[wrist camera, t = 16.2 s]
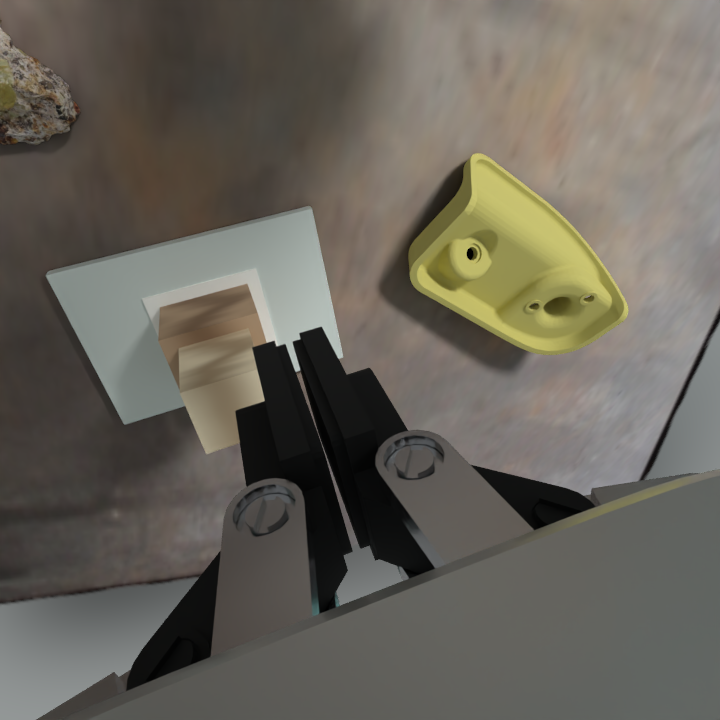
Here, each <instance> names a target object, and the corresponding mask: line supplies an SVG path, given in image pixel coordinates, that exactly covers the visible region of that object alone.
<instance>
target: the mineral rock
mask: <svg viewBox="0 0 720 720" xmlns="http://www.w3.org/2000/svg"><path fill="white" fill-rule="evenodd" d="M0 27H1V20H0ZM80 113H81V112H80V109H79V107H78V105H77V104H76V102H74V101H73V99H72V97H71V95H70V88H69V85H68V84H67V83H66V82H65V81H64V80H63V79H62V78H61V77H60V76H58V75H57V74H55V73H54V72H53V70H51V69H49V68H48V67H46V66H45V65H42V64H41V63H40V62H39V61H38V60H37V59H35V58H33V57H31V56H28V55H26V54H25V53H24V52H22V51H21V50H20V49H17V48H16V47H14V45H13V41H12V40H11V39H10V35H8V34H6V33H5V32H3V30H2V29H1V28H0V144H3V145H5V144H6V145H8V144H16V143H17V142H26V143H28V144H30V145H33V146H34V145H37V144H40V143H42V142H43V141H48V140H49V138H50V137H51V135H53V134H55V133H60V134H62V133H64V132H68V131H69V130H70V126H69V125H70V124H71V123H72V122H74V121H76V117H75V115H79V114H80Z"/></svg>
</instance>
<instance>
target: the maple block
mask: <svg viewBox="0 0 720 720" xmlns="http://www.w3.org/2000/svg"><path fill="white" fill-rule="evenodd" d="M252 347H254V344H253V341H252V338H251V334H250V331H249V328H247V329H244V330H240V331H237V332H233V333H230V334H226V335H223V336H220V337H216V338H213V339H209V340H206V341H202V342H199V343H195V344H192V345H189V346H185V347H182V348H179V383H180V395H181V397H182V400H183V402H184V404H185V406H186V409H187V411H188V413H189V416H190V418H191V420H192V422H193V425H194V427H195V429H196V432H197V434H198V436H199V439H200V441H201V443H202V445H203V448H204V450H205V452H206V454H208V453H211V452H214V451H217V450H220V449H223V448H226V447H229V446H232V445H235V444H238V443H240V440H239V434H238V427H237V421H236V413H235V411H236V410H238V409H241V408H244V407H248V406H251V405H254V404H257V403H260V402H263V401H265V399H264V395H263V391H262V387H261V383H260V379H259V374H258V370H257V366H256V362H255V358H254V354H253V350H252Z"/></svg>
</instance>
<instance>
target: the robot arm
mask: <svg viewBox="0 0 720 720" xmlns="http://www.w3.org/2000/svg"><path fill="white" fill-rule="evenodd" d="M299 335H300V339H299V340H296V341H292V342H293V346H294V350H295V353H296V357H297V360H298V364H299V367H300V370H301V374H302V377H303V381H304V384H305V388H306V391H307V395H308V398H309V402H310V405H311V409H312V412H313V416H314V419H315V422H316V426H317V429H318V433H319V436H320V439H321V442H322V444H323V447H324V450H325V453H326V455H327V458H328V461H329V464H330V466H331V469H332V472H333V475H334V477H335V480H336V483H337V486H338V488H339V491H340V494H341V497H342V500H343V502H344V505H345V508H346V511H347V513H348V516H349V519H350V522H351V524H352V527H353V530H354V533H355V535H356V538H357V541H358V544H359V546H360V548H364V547H366V546H369V545H370V548H371V550H372V553H373V556H374V558H375V560H378V559H380V560H383V561H386V562H389V563H391V564H394V565H397V567H398V570H399V573H400V575H401V578H402V579H403V581H402V582H400V583H397V584H395V585H392V586H389V587H387V588H384V589H382V590H379V591H377V592H374V593H372V594H369V595H367V596H364V597H361V598H359V599H356V600H354V601H351V602H349V603H346V604H343V605H341V606H340V605H339V600H338V596H337V593H336V590H337V589H338V587H339V585H340V583H341V582H342V580H343V578H344V576H345V574H346V573H347V571H348V570H347V566H346V563H345V560H344V556H343V555H345V554H348V553H350V552H352V547H351V544H350V540H349V537H348V534H347V530H346V527H345V523H344V520H343V516H342V513H341V509H340V506H339V502H338V499H337V495H336V492H335V488H334V485H333V482H332V478H331V475H330V471H329V468H328V464H327V461H326V457H325V454H324V451H323V448H322V445H321V442H320V439H319V436H318V433H317V430H316V428H315V425H314V422H313V419H312V416H311V414H310V411H309V408H308V405H307V403H306V400H305V397H304V394H303V391H302V389H301V386H300V383H299V380H298V378H297V375H296V372H295V369H294V366H293V364H292V361H291V358H290V355H289V353H288V350H287V347H286V344H283V345H279V346H276V343H275V341H271V342H268V343H265V344H261V345H258V346H255V347H252V350H253V354H254V358H255V362H256V366H257V370H258V374H259V379H260V383H261V387H262V391H263V395H264V399H265V401H263V402H260V403H257V404H254V405H251V406H248V407H244V408H241V409H238V410H236V411H235V413H236V421H237V427H238V434H239V440H240V447H241V453H242V460H243V466H244V473H245V479H246V486H247V487H246V488H245V489H243V490H241V491H240V492H239V493H238V494H237V495H236V496H235V497H234V498H233V499H232V501H231V502H230V504H229V506H228V507H227V509H226V513H225V516H224V522H223V533H222V543H221V551H220V552H219V553H218V555H217V556H216V557H215V558H214V560H213V561H212V562H211V563H210V565H209V566H208V567H207V568H206V570H205V571H204V572H203V574H202V575H201V576H200V577H199V579H198V580H197V581H196V582H195V584H194V585H193V586H192V587H191V589H190V590H189V591H188V592H187V594H186V595H185V596H184V597H183V599H182V600H181V601H180V602H179V604H178V605H177V607H176V608H175V609H174V610H173V611H172V613H171V614H170V615H169V616H168V618H167V619H166V620H165V621H164V623H163V624H162V625H161V627H160V628H159V629H158V630H157V631H156V633H155V634H154V635H153V636H152V638H151V639H150V640H149V642H148V643H147V644H146V645H145V647H144V648H143V649H142V651H141V652H140V654H139V655H138V657H137V658H136V660H135V662H134V664H133V665H132V668H131V670H130V671H128V672H126V673H125V674H123V675H122V676H120V677H118V676H117V675H116V674H115V672H113V673H112V674H110V675H109V676H107V677H105V678H104V679H102V680H100V681H99V682H97V683H96V684H94V685H92V686H91V687H89V688H87V689H86V690H84V691H82V692H81V693H79V694H78V695H76V696H75V697H73V698H71V699H69V700H68V701H66V702H64V703H63V704H61V705H60V706H58V707H56V708H55V709H53V710H51V711H50V712H48V713H47V714H45V715H43V716H42V717H40V718H38V719H37V720H720V469H718V470H712V471H708V472H704V473H689V474H682V475H676V476H669V477H663V478H656V479H650V480H643V481H637V482H631V483H624V484H618V485H611V486H605V487H598V488H592V490H591V495H586V496H583V495H581V494H580V493H578V492H575V491H572V490H570V489H567V488H563V487H559V486H555V485H551V484H547V483H543V482H539V481H535V480H531V479H526V478H522V477H518V476H514V475H510V474H506V473H502V472H498V471H494V470H490V469H486V468H481V467H477V466H473V465H470V464H469V463H468V462H467V461H466V460H465V459H464V458H463V457H462V456H461V455H460V454H459V453H458V452H457V451H456V450H455V449H454V448H453V447H452V446H451V445H450V444H449V443H448V442H447V441H446V440H445V439H444V438H442V437H441V436H440V435H438V434H435V433H432V432H430V431H423V430H411V431H408V430H407V428H406V426H405V425H404V423H403V421H402V420H401V418H400V416H399V415H398V413H397V411H396V410H395V408H394V406H393V405H392V403H391V401H390V400H389V398H388V396H387V395H386V393H385V391H384V390H383V388H382V386H381V385H380V383H379V381H378V380H377V378H376V376H375V375H374V373H373V371H372V370H371V369H370V368H367V369H364V370H361V371H357V372H354V373H351V374H348V375H346V373H345V371H344V369H343V367H342V365H341V363H340V361H339V359H338V357H337V355H336V353H335V351H334V349H333V347H332V345H331V344H330V342H329V340H328V338H327V336H326V334H325V332H324V330H323V328H322V327H318V328H314V329H311V330H308V331H305V332H301V333H299Z"/></svg>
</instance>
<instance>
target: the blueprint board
mask: <svg viewBox="0 0 720 720" xmlns="http://www.w3.org/2000/svg"><path fill="white" fill-rule="evenodd" d="M46 277H47V279H48V281H49V283H50V285H51V287H52V289H53V291H54V293H55V294H56V296H57V298H58V300H59V302H60V304H61V306H62V308H63V310H64V312H65V313H66V315H67V317H68V319H69V321H70V323H71V325H72V327H73V329H74V330H75V332H76V334H77V336H78V338H79V340H80V342H81V344H82V346H83V348H84V349H85V351H86V353H87V355H88V357H89V359H90V361H91V363H92V365H93V367H94V368H95V370H96V372H97V374H98V376H99V378H100V380H101V382H102V384H103V385H104V387H105V389H106V391H107V393H108V395H109V397H110V399H111V401H112V403H113V404H114V406H115V408H116V410H117V412H118V414H119V416H120V418H121V420H122V422H123V423H124V425H126V424H129V423H132V422H135V421H139V420H142V419H145V418H148V417H152V416H155V415H158V414H161V413H164V412H168V411H171V410H174V409H177V408H181V407H184V406H185V404H184V402H183V400H182V397H181V395H180V390H179V388H178V385H177V383H176V381H175V379H174V376H173V374H172V372H171V369H170V367H169V365H168V362H167V360H166V358H165V355H164V353H163V351H162V348H161V346H160V344H159V342H158V336H159V316H160V307H163V306H167V305H171V304H174V303H178V302H182V301H185V300H189V299H193V298H196V297H200V296H204V295H207V294H211V293H215V292H218V291H222V290H226V289H229V288H233V287H237V286H240V285H244V284H248V287H249V290H250V292H251V295H252V298H253V301H254V304H255V307H256V309H257V312H258V315H259V319H260V322H261V325H262V329H263V332H264V335H265V339H266V342H267V343H268V342H271V341H275V343H276V346H279V345H283V344H286V347H287V350H288V353H289V355H290V358H291V361H292V364H293V366H294V369H295V372H297V371H300V367H299V364H298V360H297V357H296V353H295V350H294V346H293V342H292V341H296V340H299V339H300V335H299V333H301V332H305V331H308V330H311V329H314V328H318V327H322V328H323V330H324V332H325V334H326V336H327V338H328V340H329V342H330V344H331V345H332V347H333V349H334V351H335V353H336V355H337V357H338V359H339V358H342V357H343V353H342V349H341V344H340V339H339V334H338V330H337V325H336V320H335V315H334V311H333V306H332V301H331V296H330V292H329V287H328V282H327V277H326V273H325V268H324V263H323V258H322V254H321V249H320V244H319V239H318V235H317V230H316V225H315V220H314V216H313V211H312V208H311V207H310V206H306V207H302V208H298V209H294V210H290V211H286V212H282V213H278V214H274V215H270V216H266V217H262V218H258V219H254V220H250V221H246V222H242V223H238V224H234V225H230V226H226V227H222V228H218V229H214V230H210V231H206V232H202V233H198V234H194V235H190V236H186V237H182V238H178V239H174V240H170V241H166V242H162V243H158V244H154V245H150V246H146V247H142V248H138V249H134V250H130V251H126V252H122V253H118V254H114V255H110V256H106V257H102V258H98V259H94V260H90V261H86V262H82V263H78V264H74V265H70V266H66V267H62V268H58V269H54V270H50V271H48V272H47V274H46Z"/></svg>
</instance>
